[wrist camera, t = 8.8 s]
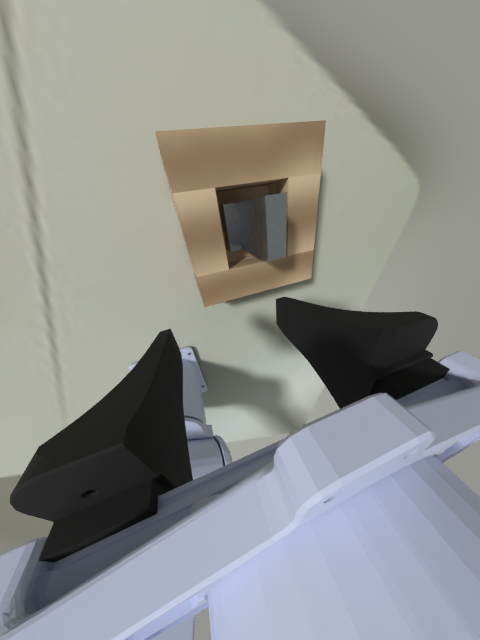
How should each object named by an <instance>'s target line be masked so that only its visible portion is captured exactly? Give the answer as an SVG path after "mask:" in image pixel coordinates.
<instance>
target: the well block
mask: <svg viewBox="0 0 480 640" xmlns="http://www.w3.org/2000/svg"><path fill="white" fill-rule="evenodd" d="M325 123H326V121H310V122H295V123H279V124H264V125H248V126H233V127H217V128H202V129H187V130H171V131H156V136H157V141H158V145H159V150H160V154H161V158H162V161H163V165H164V168H165V172H166V175H167V179H168V182H169V186H170V189H171V193H172V196H173V200H174V204H175V207H176V211H177V214H178V218H179V221H180V225H181V228H182V232H183V235H184V239H185V242H186V246H187V249H188V253H189V256H190V260H191V263H192V267H193V271H194V274H195V278H196V281H197V285H198V288H199V292H200V295H201V298H202V301H203V303H204V306H205V307H207V306H210V305H214V304H218V303H221V302H225V301H229V300H233V299H236V298H240V297H244V296H248V295H251V294H255V293H259V292H262V291H266V290H270V289H274V288H277V287H281V286H285V285H288V284H292V283H296V282H300V281H303V280H307V279H311V275H312V264H313V253H314V242H315V231H316V221H317V210H318V199H319V188H320V177H321V166H322V155H323V144H324V133H325ZM286 192H287V230H286V257H285V258H281V259H277V260H273V261H266V260H264V259H262V258H260V257H257V256H255V255H253V254H251V253H249V252H247V251H244V250H237V251H233V252H230V251H228V247H227V241H226V235H225V229H224V223H223V217H222V211H221V205H225V204H231V203H237V202H241V201H245V200H249V199H254V198H258V197H262V196H266V195H273V194H279V193H286Z"/></svg>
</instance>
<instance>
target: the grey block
mask: <svg viewBox="0 0 480 640" xmlns="http://www.w3.org/2000/svg"><path fill="white" fill-rule="evenodd" d="M221 211H222V217H223V223H224V229H225V235H226V241H227V247H228V251H230V252H233V251H237V250H244V251H247V252H249V253H251V254H253V255H255V256H257V257H260V258H262V259H264V260H266V261H273V260H277V259H281V258H285V257H286V230H287V192H286V193H279V194H273V195H266V196H262V197H258V198H254V199H249V200H245V201H241V202H237V203H231V204H225V205H221Z"/></svg>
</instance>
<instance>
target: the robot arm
mask: <svg viewBox="0 0 480 640" xmlns="http://www.w3.org/2000/svg"><path fill="white" fill-rule="evenodd" d="M276 318H277V325H278V326H279V328H280V329H281V331H282V332H283V334H284V335H285V336H286V337H287V338H288V339H289V340H290V341H291V342H292V344H293V345H294V346H295V347H296V348H297V349H298V350H299V351H300V352H301V353H302V354H303V355H304V357H305V358H306V359H307V360H308V362H309V363H310V364H311V366H312V367H313V368H314V370H315V371H316V372H317V374H318V375H319V377H320V378H321V380H322V381H323V382H324V384H325V385H326V387H327V388H328V390H329V392H330V393H331V395H332V396H333V398H334V400H335V401H336V403H337V405H338V406H339V408H340V409H339V410H337V411H334V412H332V413H330V414H328V415H325V416H323V417H321V418H319V419H317V420H314V421H312V422H310V423H308V424H305V425H304V426H302V427H300V428H298V429H297V430H295V431H293V432H292V433H290V434H289V435H288V436H287V437H286V438H285V439H282V440H281V441H278V442H276V443H274V444H272V445H269V446H267V447H265V448H263V449H260V450H258V451H256V452H254V453H252V454H250V455H247V456H245V457H243V458H241V459H239V460H237V461H235V462H232V457H231V454H230V451H229V449H228V447H227V445H226V443H225V442H224V440H223V439H222V438H221V437H220V436H217V435H215V436H213V430H212V425H207V424H206V417H205V411H204V405H203V398H202V393H204V392H206V391H207V386H206V383H205V381H204V378H203V375H202V373H201V370H200V367H199V365H198V362H197V360H196V357H195V354H194V352H193V349H192V348H191V347H186V348H183V349H179V347H178V345H177V343H176V340H175V338H174V336H173V333H172V331H171V329H168V330H164V331H161V332H160V333H159V334H158V336H157V337H156V338H155V340H154V341H153V343H152V344H151V346H150V347H149V349H148V350H147V351H146V353H145V354H144V355H143V357H142V358H141V359H140V360H139V362H138V363H134V364H131V365H130V366H129V370H130V372H129V374H128V375H127V376H126V377H125V378H124V379H123V380H122V381H121V382H120V383H119V384H118V385H117V386H116V387H115V388H114V389H112V390H111V391H110V392H109V393H108V394H107V395H106V396H105V397H104V398H103V399H102V400H100V401H99V402H98V403H97V404H96V405H94V406H93V407H92V408H91V409H90V410H88V411H87V412H86V413H85V414H83V415H82V416H81V417H80V418H78V419H77V420H76V421H74V422H73V423H72V424H70V425H69V426H67V427H66V428H65V429H63V430H62V431H61V432H59V433H58V434H56V435H55V436H54V437H52V438H51V439H49V440H48V441H47V442H45V443H44V444H42V445H41V446H39V448H38V449H37V451H36V453H35V454H34V456H33V458H32V460H31V461H30V463H29V465H28V466H27V468H26V470H25V471H24V473H23V475H22V477H21V478H20V480H19V482H18V483H17V485H16V487H15V488H14V490H13V492H12V494H11V495H10V503H11V505H12V506H13V508H14V509H15V510H17V511H19V512H21V513H24V514H27V515H31V516H35V517H38V518H42V519H46V520H49V521H53V522H54V524H53V526H52V529H51V531H50V534H49V536H48V537H42V538H37V539H34V540H31V541H29V542H27V543H25V544H22V545H20V546H18V547H15V548H13V549H11V550H9V551H6V552H5V553H2V554H0V640H194V625H195V624H194V623H195V617H196V614H197V613H198V612H200V611H202V610H204V609H205V608H207V607H209V614H210V615H209V616H210V627H211V639H212V640H480V497H479V496H478V495H477V494H476V493H475V492H474V491H473V490H472V489H471V488H470V487H468V486H467V485H466V484H465V483H464V482H463V481H462V480H461V479H460V478H459V477H458V476H457V475H455V474H454V473H453V472H452V471H451V470H450V469H449V468H448V467H447V466H446V465H444V464H443V463H444V462H445V461H447V460H448V459H450V458H452V457H453V456H455V455H456V454H458V453H460V452H461V451H463V450H464V449H466V448H467V447H469V446H470V445H472V444H474V443H476V442H477V441H479V440H480V360H479V359H477V358H475V357H473V356H471V355H469V354H467V353H464V352H462V351H457V352H455V353H453V354H450V355H448V356H446V357H444V358H442V359H441V360H439V361H438V362H437V361H435V360H433V359H431V357H432V356H433V354H432V353H430V352H429V351H427V350H425V349H426V347H427V346H428V344H429V343H430V341H431V339H432V338H433V336H434V334H435V332H436V330H437V327H438V322H437V320H436V318H434V317H432V316H429V315H426V314H424V313H421V312H388V313H387V312H361V311H349V310H342V309H335V308H329V307H324V306H320V305H315V304H311V303H307V302H304V301H300V300H296V299H292V298H288V297H282V298H278V299H276ZM188 353H191V354H188ZM202 385H203V386H202Z"/></svg>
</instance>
